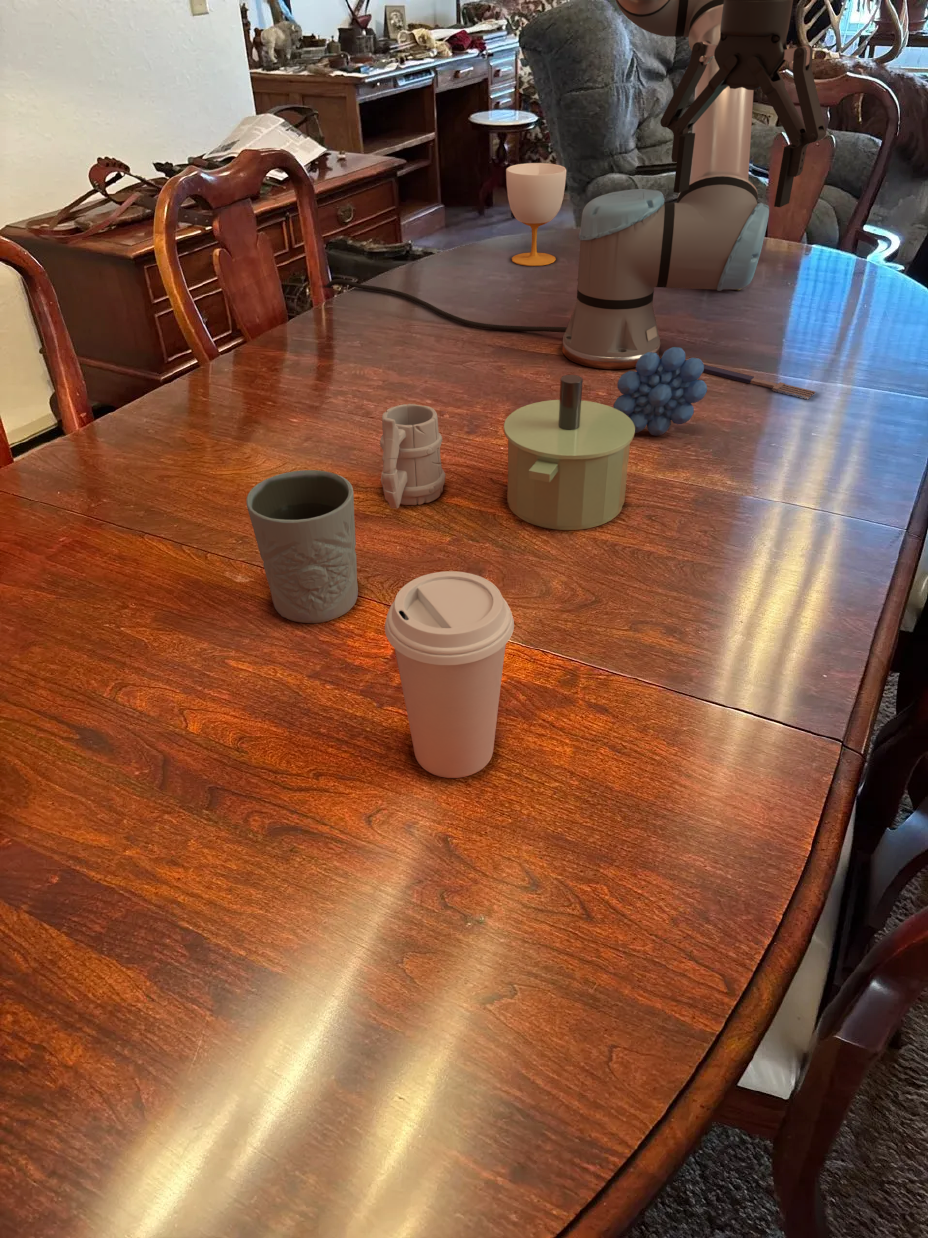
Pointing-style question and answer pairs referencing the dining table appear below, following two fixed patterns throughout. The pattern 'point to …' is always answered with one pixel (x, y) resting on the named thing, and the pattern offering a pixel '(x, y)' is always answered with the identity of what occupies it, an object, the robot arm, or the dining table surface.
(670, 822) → the dining table surface
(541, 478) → the pot
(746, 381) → the spatula
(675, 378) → the grapes
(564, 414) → the pot lid
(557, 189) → the cup
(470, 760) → the coffee cup
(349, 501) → the embossed gray tumbler
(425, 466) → the mug
